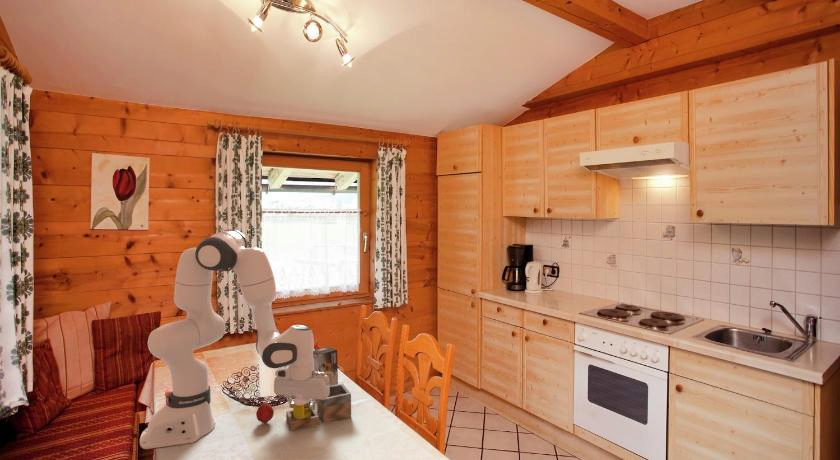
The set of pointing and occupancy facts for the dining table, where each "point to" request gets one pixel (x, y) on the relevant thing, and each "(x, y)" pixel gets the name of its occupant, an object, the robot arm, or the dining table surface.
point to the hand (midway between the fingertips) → (302, 408)
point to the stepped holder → (325, 409)
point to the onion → (265, 413)
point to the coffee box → (326, 363)
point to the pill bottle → (301, 407)
